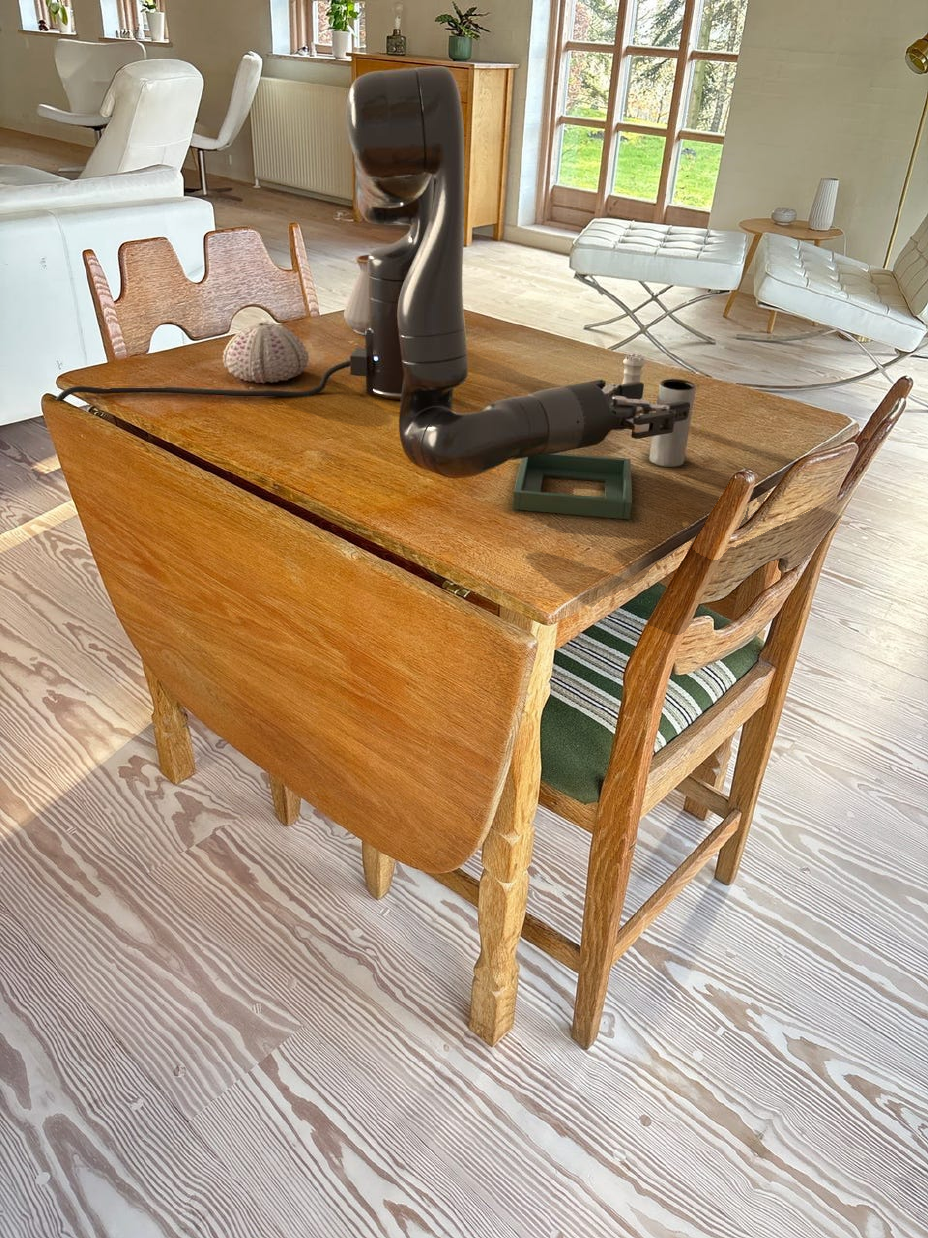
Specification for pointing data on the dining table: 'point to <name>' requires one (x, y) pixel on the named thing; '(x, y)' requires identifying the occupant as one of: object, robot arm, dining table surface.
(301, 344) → the sea urchin shell
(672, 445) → the white hollow cylinder
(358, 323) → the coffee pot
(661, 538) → the dining table surface
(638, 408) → the rook chess piece
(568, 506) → the green square frame
